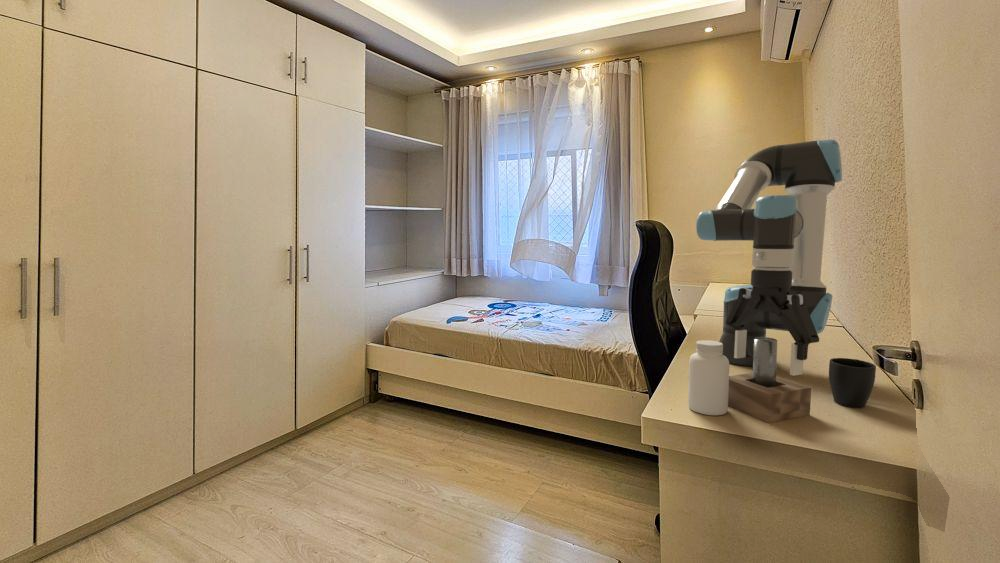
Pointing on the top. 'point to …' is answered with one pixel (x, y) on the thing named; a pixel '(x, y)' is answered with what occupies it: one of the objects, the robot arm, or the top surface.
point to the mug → (851, 381)
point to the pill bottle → (708, 379)
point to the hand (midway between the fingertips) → (766, 365)
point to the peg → (765, 361)
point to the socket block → (769, 398)
